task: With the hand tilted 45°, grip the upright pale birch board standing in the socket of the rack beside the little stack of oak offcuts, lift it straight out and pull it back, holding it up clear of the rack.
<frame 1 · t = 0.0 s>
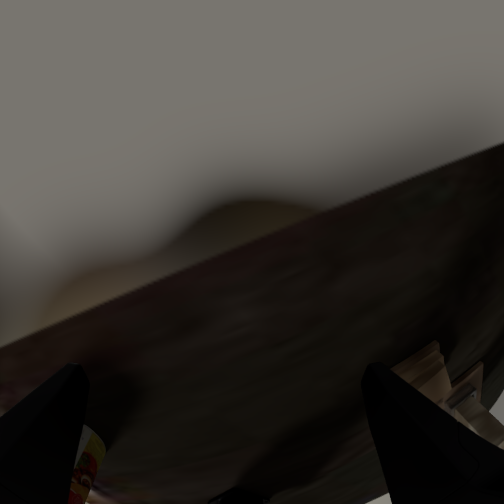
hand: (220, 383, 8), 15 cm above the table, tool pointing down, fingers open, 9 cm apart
lower offcut: (416, 379, 26), point 1 cm above the table, touching rack, upper offcut
canned food: (79, 437, 26), on the table
upper offcut: (423, 386, 24), point 2 cm above the table, touching lower offcut
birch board: (456, 406, 28), point 1 cm above the table, touching rack
rack: (454, 403, 29), on the table
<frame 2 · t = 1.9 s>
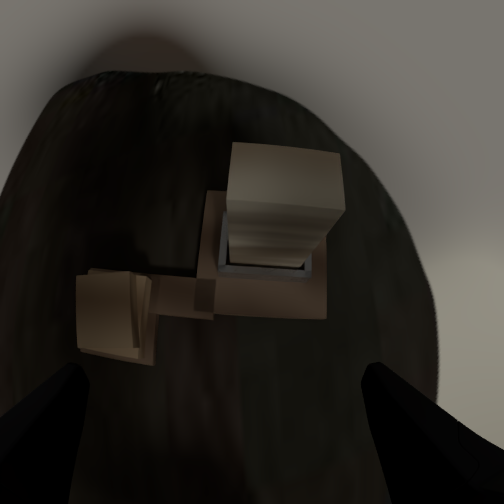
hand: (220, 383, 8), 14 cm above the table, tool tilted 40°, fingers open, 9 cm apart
lower offcut: (118, 315, 20), point 1 cm above the table, touching rack, upper offcut
upper offcut: (110, 312, 19), point 2 cm above the table, touching lower offcut
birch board: (264, 251, 23), point 1 cm above the table, touching rack
rack: (263, 254, 23), on the table
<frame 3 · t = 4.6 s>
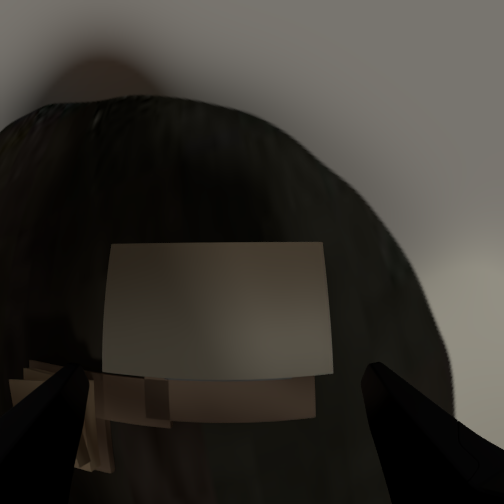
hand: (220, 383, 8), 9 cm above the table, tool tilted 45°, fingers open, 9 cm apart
lower offcut: (64, 417, 14), point 1 cm above the table, touching rack, upper offcut
upper offcut: (53, 420, 12), point 2 cm above the table, touching lower offcut
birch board: (227, 340, 16), point 1 cm above the table, touching rack
rack: (228, 340, 17), on the table
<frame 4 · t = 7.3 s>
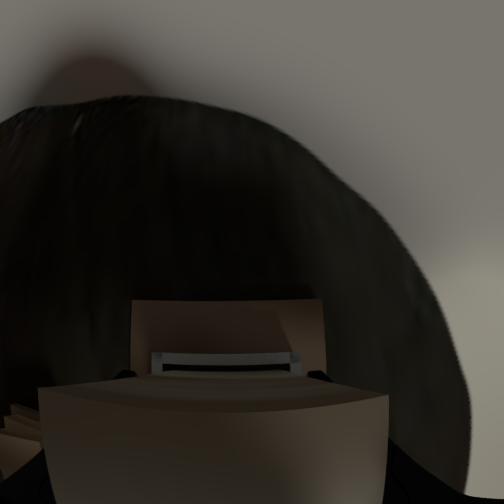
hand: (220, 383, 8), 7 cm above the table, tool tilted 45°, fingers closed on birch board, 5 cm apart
lower offcut: (52, 467, 10), point 1 cm above the table, touching rack, upper offcut
upper offcut: (39, 473, 9), point 2 cm above the table, touching lower offcut
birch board: (227, 398, 13), point 1 cm above the table, touching gripper, rack
rack: (228, 396, 14), on the table
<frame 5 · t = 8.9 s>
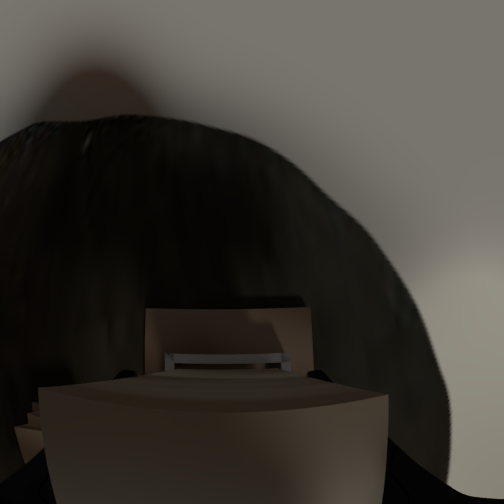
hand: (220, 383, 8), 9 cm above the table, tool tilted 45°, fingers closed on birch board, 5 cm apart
upper offcut: (60, 463, 11), point 2 cm above the table, touching lower offcut
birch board: (227, 398, 13), point 3 cm above the table, touching gripper
rack: (229, 391, 16), on the table
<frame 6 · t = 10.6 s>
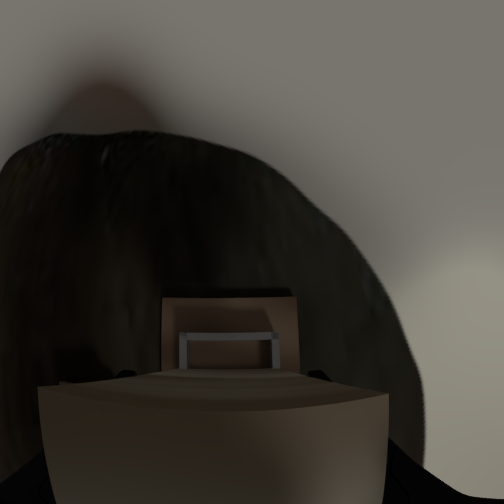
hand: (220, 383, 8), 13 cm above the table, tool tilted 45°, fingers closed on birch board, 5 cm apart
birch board: (227, 398, 13), point 7 cm above the table, touching gripper
rack: (230, 365, 20), on the table
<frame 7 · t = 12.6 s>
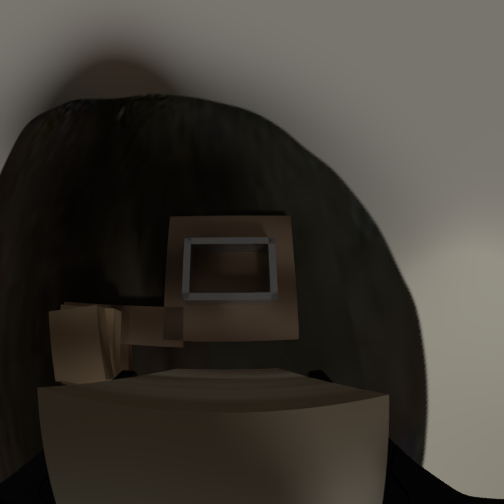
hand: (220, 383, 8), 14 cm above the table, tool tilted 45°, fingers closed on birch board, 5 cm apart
lower offcut: (92, 347, 19), point 1 cm above the table, touching rack, upper offcut
upper offcut: (83, 345, 18), point 2 cm above the table, touching lower offcut
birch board: (227, 398, 13), point 8 cm above the table, touching gripper
rack: (230, 277, 23), on the table
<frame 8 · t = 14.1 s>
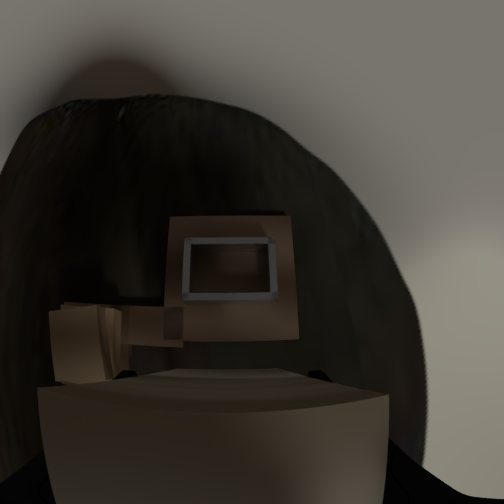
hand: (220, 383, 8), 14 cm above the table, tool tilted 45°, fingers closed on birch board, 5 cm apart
lower offcut: (92, 347, 19), point 1 cm above the table, touching rack, upper offcut
upper offcut: (83, 345, 18), point 2 cm above the table, touching lower offcut
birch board: (227, 398, 13), point 8 cm above the table, touching gripper
rack: (230, 277, 23), on the table
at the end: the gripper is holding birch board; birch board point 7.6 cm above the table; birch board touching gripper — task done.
